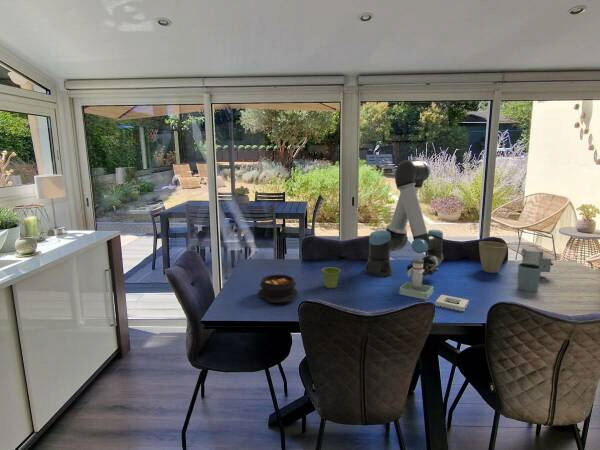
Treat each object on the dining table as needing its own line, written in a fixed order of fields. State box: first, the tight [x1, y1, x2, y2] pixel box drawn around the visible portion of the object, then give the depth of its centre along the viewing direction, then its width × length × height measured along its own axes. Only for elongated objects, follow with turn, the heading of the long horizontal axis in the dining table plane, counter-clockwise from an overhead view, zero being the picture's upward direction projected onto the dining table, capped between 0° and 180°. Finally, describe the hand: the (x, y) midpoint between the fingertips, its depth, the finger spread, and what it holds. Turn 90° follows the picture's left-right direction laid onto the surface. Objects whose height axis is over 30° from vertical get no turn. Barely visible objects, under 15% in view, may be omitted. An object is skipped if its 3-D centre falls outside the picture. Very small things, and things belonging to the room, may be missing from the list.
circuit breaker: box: [520, 247, 554, 279], centre depth 215 cm, size 8×14×15 cm, turn 78°
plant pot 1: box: [321, 266, 341, 289], centre depth 198 cm, size 9×9×9 cm
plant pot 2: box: [478, 241, 509, 274], centre depth 224 cm, size 15×15×16 cm
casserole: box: [258, 274, 299, 304], centre depth 185 cm, size 25×19×8 cm
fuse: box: [411, 258, 424, 290], centre depth 188 cm, size 5×5×14 cm
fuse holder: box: [434, 294, 470, 312], centre depth 175 cm, size 12×10×2 cm
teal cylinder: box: [517, 262, 542, 292], centre depth 196 cm, size 10×10×12 cm
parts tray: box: [398, 281, 434, 301], centre depth 189 cm, size 13×11×3 cm
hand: (413, 274), depth 183 cm, fingers closed on fuse, 5 cm apart
